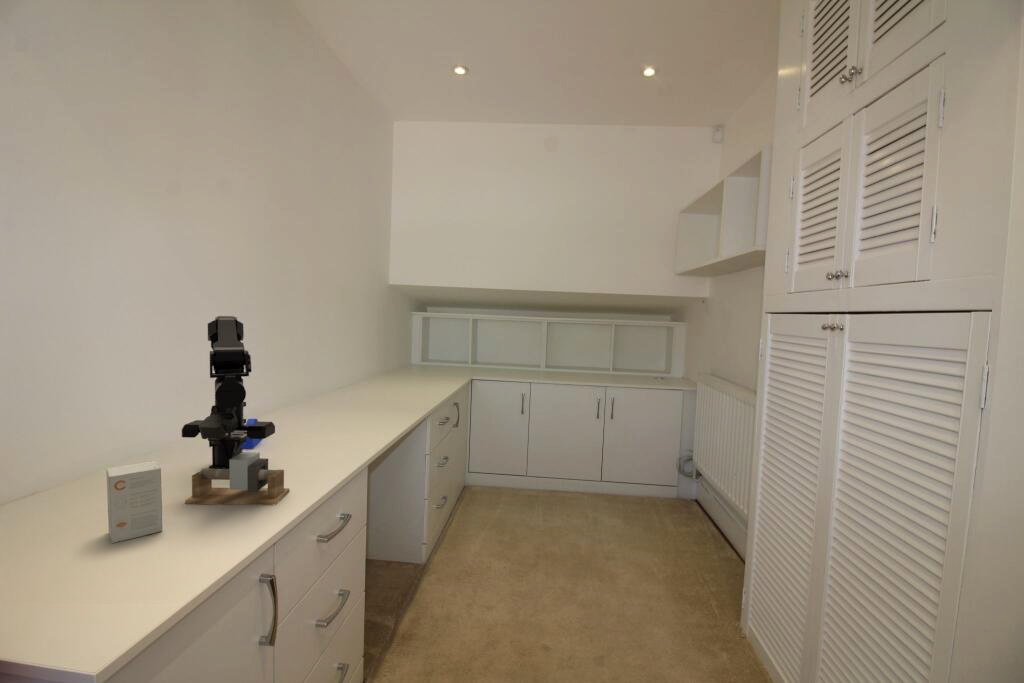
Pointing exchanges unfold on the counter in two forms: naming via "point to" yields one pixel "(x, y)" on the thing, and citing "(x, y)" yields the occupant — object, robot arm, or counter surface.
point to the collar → (256, 475)
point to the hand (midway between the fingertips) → (229, 465)
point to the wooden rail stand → (212, 495)
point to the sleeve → (241, 469)
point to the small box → (134, 500)
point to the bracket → (249, 442)
